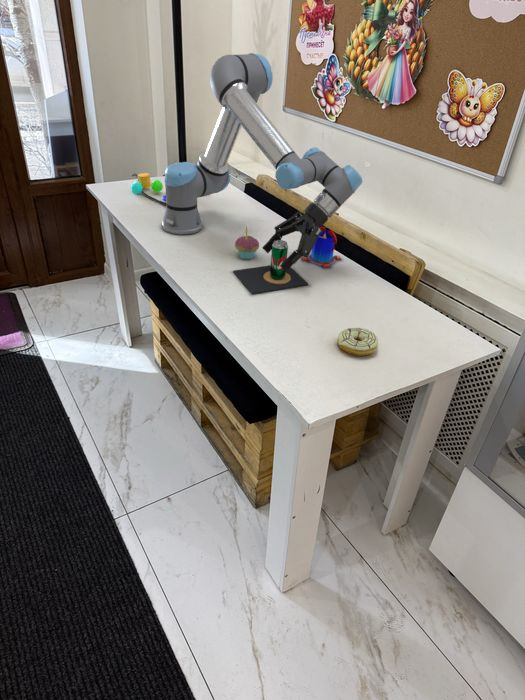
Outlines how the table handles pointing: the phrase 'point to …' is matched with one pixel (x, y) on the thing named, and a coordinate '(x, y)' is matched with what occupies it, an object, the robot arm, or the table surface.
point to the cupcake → (247, 246)
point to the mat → (268, 280)
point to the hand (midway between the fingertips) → (273, 259)
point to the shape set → (146, 184)
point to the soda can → (278, 259)
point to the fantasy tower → (323, 249)
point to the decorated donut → (357, 341)
